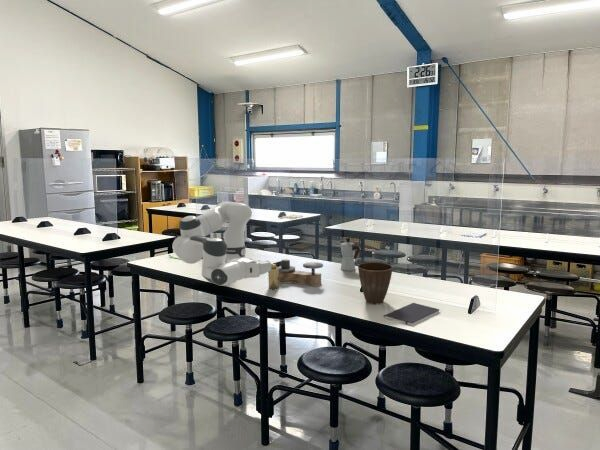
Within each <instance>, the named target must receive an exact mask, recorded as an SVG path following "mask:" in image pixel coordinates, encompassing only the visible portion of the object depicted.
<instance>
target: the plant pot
mask: <svg viewBox="0 0 600 450" xmlns="http://www.w3.org/2000/svg"><path fill="white" fill-rule="evenodd" d="M357 268H358V275H359V277H358V278H359V281H360V286H361V290H362V293H363V296H364V299H365V302H366V303H367V304H371V305H380V304H383V302H384V301H385V298H386V296H387V293H388V291H389V290H388V289H389V286H390V283H391V280H392V273H393V269H394V268H393V266H392V265H391V264H389V263H385V262H373V261H372V262H364V263H360V264H358V265H357Z"/></svg>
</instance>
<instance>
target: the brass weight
mask: <svg viewBox="0 0 600 450" xmlns="http://www.w3.org/2000/svg"><path fill="white" fill-rule="evenodd" d="M277 267H278V266H277V263H271V270H270V271H269V272H267V273H268V276H267V277H268V289H269V290H270V289H272V290H273V291H274V290H275V289H276V290H279V289H280V281H279V268H277ZM272 290H271V291H272Z"/></svg>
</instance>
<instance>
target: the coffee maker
mask: <svg viewBox="0 0 600 450" xmlns="http://www.w3.org/2000/svg"><path fill="white" fill-rule="evenodd" d="M345 240H346V241H345V242H342V243H339V245H340V251H341V252H340V253H341V256H342V258H341V264H340V271H345V272H354V271H356V265H355V259H357V257H358V255H359V253H360V251H361V248H360V246H359V245H358V244H356V243H354V242H351V238H350V237H345Z"/></svg>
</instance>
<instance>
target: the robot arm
mask: <svg viewBox="0 0 600 450" xmlns="http://www.w3.org/2000/svg"><path fill="white" fill-rule="evenodd" d="M251 208H252V207H250V206H249V205H248V204H246V203H243V202H237V201H234V202H233V201H222V202H219V203H218V204H217V205H216V206H215V207H214V208H213V209H211V210H209V211H207V212H204V213H202V214H200V215H198V216H196V215H187V216H184V217H182V218H181V219H180V220H179V227H178V228H179V230H180V235H181V236H178V237H176V238H175V239H174V240H173V242H172V246H171V247H172V250H173V253H174V254H175V255H176V256H177V258H179V259H180V260H181V261H183V263H186V264H189V265H192V264H193V265H194V264H196V263H198V262H200V261H201V260H202V266H201V276H202V277H203V278H204V279H205V280H206V281H208V282H209V283H211V284H215V285H217V286H227V285H228V286H229V285H231V284H234V283H236V282H237V281H240V280H241V281H242V280H244V279H249V278H252V279H253V278H260V276H261V275H264V274H266V273H268V272H269V271H270V270H271V264H272V262H271V261H270V260H255V259H252V258H246V245H245V230H246V226H247V223H248V222H249V221H250V219H251V218H252V214H253V212H252V209H251ZM227 223H228V226H227V228H226V230H225V231H224V233H223V239H222V238H218V237H210V236H208V235H210V234H213V233H215V232H216V231H219V230H221V229H222V228H223V226H224V225H225V224H227Z"/></svg>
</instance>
